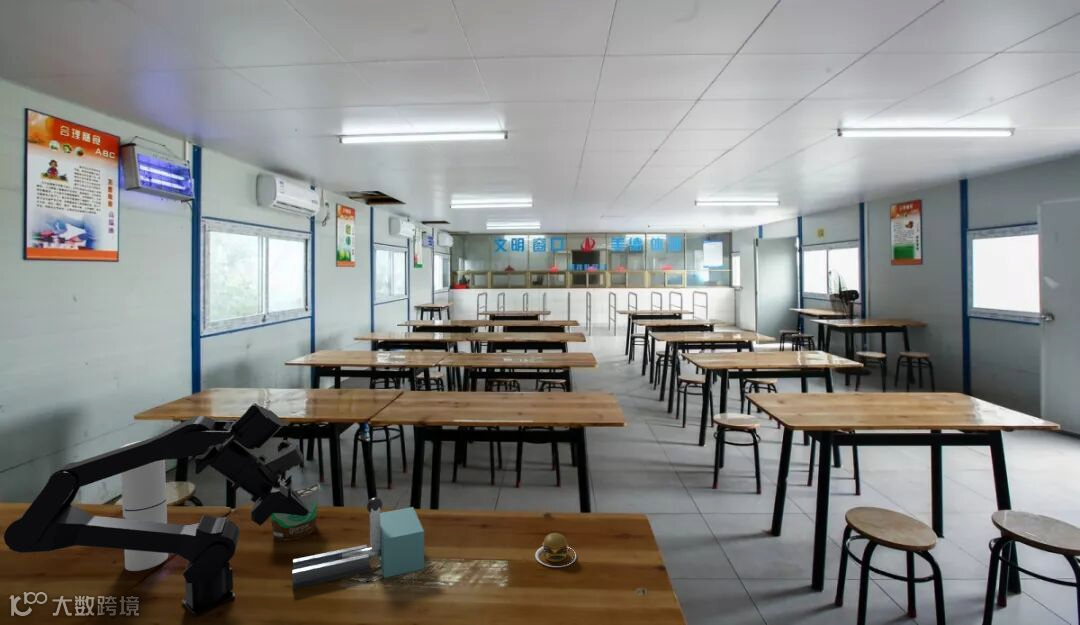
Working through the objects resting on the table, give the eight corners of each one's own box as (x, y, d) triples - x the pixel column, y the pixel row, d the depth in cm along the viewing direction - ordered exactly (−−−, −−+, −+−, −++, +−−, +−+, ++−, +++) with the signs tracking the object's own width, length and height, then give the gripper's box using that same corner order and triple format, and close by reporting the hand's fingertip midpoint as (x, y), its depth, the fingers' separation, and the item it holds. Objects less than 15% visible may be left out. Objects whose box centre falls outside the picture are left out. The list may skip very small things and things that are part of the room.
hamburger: (577, 580, 99) (577, 554, 99) (521, 570, 103) (521, 545, 102) (587, 549, 111) (588, 526, 111) (536, 542, 114) (536, 519, 114)
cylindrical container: (144, 572, 100) (139, 452, 98) (115, 568, 101) (110, 449, 100) (176, 554, 107) (172, 440, 105) (149, 550, 108) (145, 438, 107)
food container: (279, 549, 109) (278, 505, 108) (267, 540, 113) (265, 497, 112) (332, 527, 119) (331, 487, 118) (318, 520, 122) (318, 480, 122)
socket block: (384, 578, 99) (383, 539, 98) (376, 548, 109) (376, 513, 109) (424, 568, 102) (424, 531, 101) (413, 540, 113) (413, 507, 112)
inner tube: (342, 568, 99) (341, 506, 99) (341, 560, 102) (340, 500, 101) (403, 555, 104) (402, 496, 104) (400, 547, 107) (400, 490, 107)
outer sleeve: (292, 589, 95) (292, 573, 95) (293, 574, 99) (293, 559, 99) (369, 571, 101) (369, 556, 100) (366, 558, 105) (366, 544, 105)
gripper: (271, 448, 86) (340, 499, 91) (278, 420, 103) (335, 465, 108) (219, 500, 83) (293, 549, 88) (235, 463, 100) (296, 506, 105)
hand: (307, 513), depth 97 cm, fingers closed
